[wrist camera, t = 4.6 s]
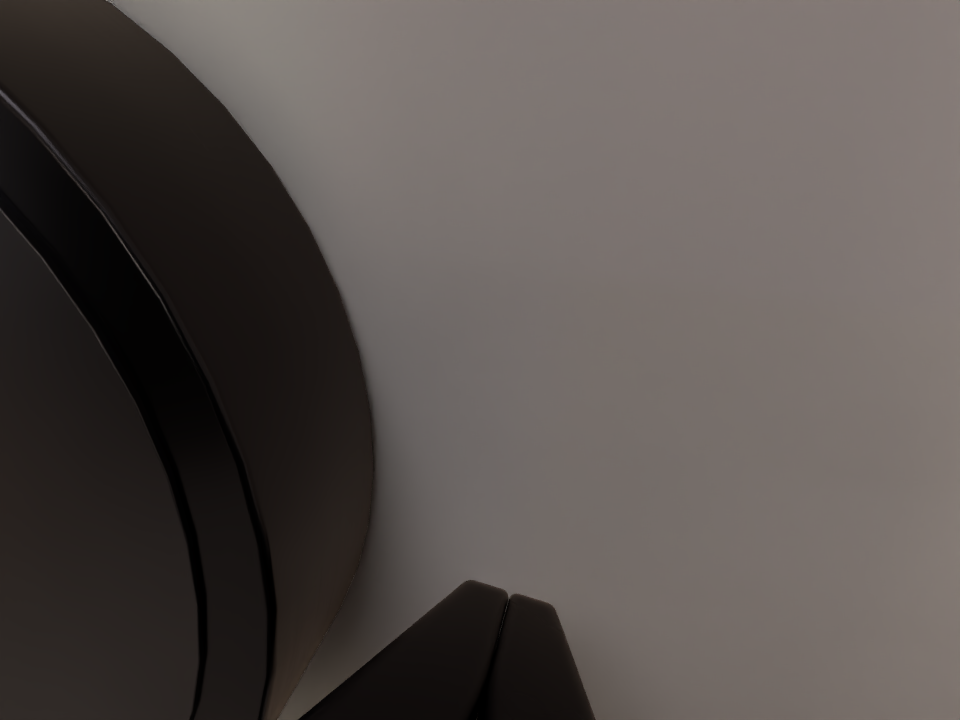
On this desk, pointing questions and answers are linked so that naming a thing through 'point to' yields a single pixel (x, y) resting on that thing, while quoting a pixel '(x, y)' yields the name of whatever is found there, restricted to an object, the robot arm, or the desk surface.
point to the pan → (160, 392)
